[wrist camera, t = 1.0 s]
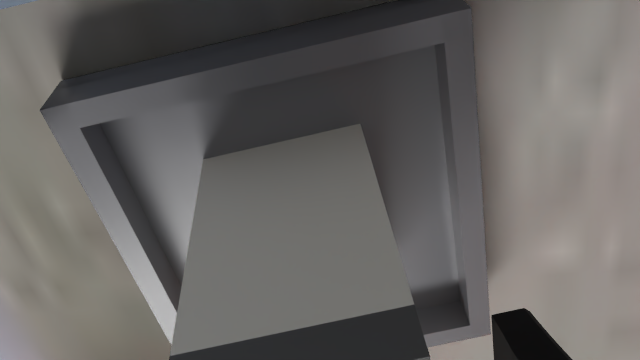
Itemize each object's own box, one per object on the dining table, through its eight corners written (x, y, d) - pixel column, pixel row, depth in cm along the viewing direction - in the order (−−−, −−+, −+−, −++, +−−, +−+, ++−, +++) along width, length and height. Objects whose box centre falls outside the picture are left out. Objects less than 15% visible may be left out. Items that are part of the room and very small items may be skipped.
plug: (360, 123, 14) (429, 356, 8) (388, 268, 17) (455, 518, 11) (203, 159, 14) (160, 412, 8) (257, 296, 17) (254, 557, 11)
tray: (450, -13, 13) (471, 8, 11) (475, 298, 18) (490, 334, 17) (60, 81, 13) (39, 110, 12) (203, 355, 19) (198, 394, 18)
